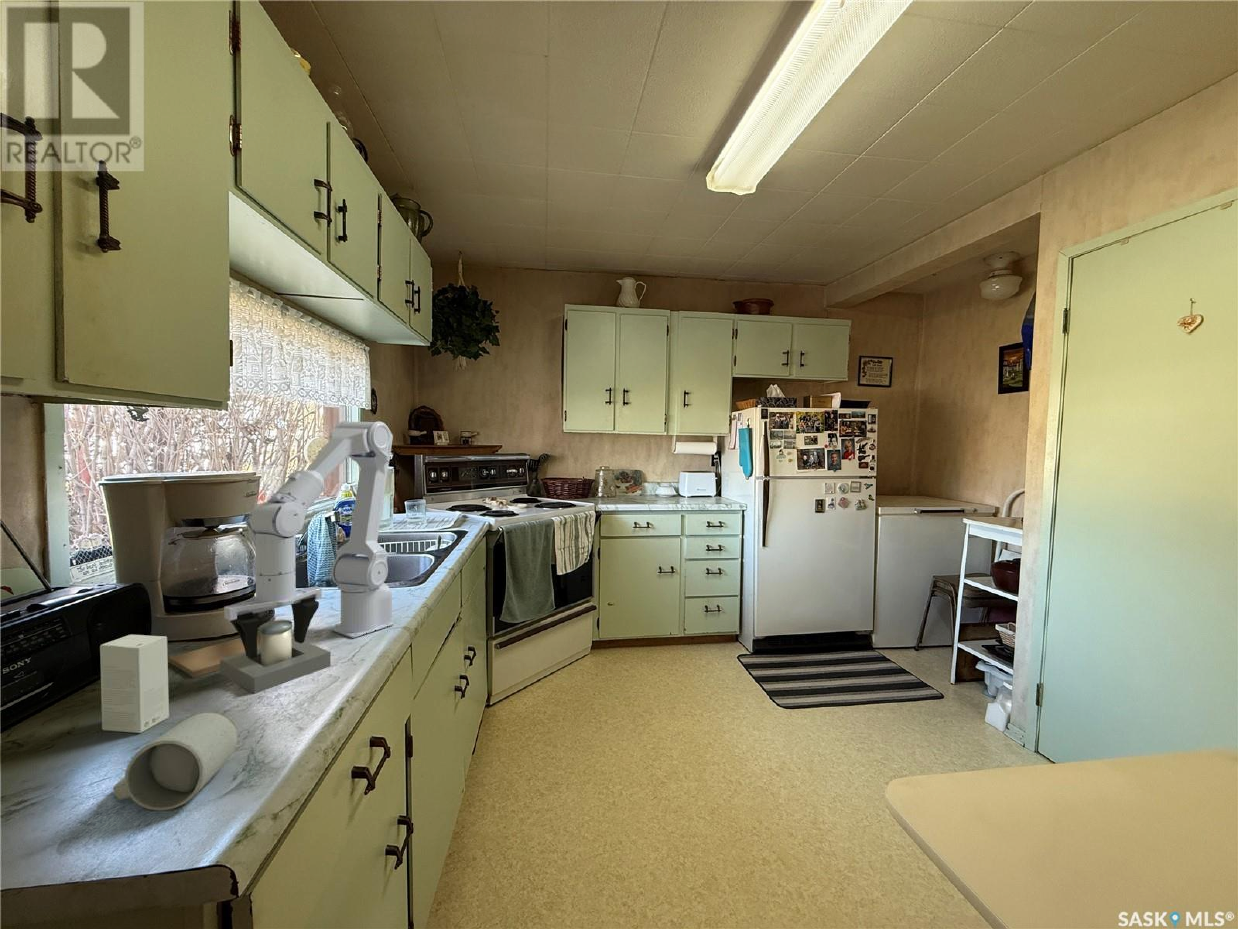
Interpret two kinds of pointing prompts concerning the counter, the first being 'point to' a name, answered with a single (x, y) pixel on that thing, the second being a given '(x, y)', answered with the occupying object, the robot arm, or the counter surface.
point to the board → (209, 657)
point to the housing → (274, 667)
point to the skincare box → (134, 683)
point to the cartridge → (275, 642)
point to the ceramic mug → (179, 762)
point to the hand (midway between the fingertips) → (276, 649)
